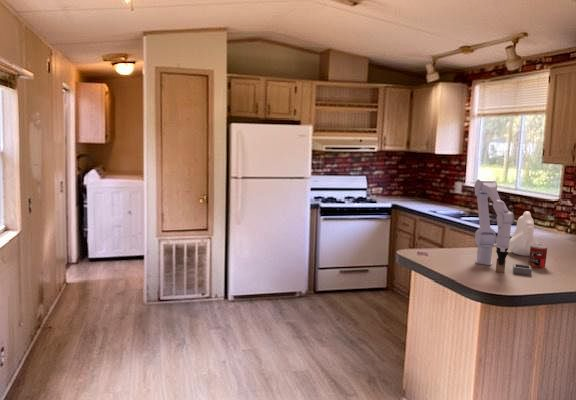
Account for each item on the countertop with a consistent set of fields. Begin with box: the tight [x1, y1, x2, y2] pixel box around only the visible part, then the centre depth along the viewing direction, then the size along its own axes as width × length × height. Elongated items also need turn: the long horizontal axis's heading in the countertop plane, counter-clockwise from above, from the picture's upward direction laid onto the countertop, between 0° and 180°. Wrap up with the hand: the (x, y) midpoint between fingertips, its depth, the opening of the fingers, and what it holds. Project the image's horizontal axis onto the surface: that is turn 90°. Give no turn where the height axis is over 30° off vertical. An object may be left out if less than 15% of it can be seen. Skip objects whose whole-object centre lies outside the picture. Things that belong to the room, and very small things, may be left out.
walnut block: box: [495, 257, 507, 274], centre depth 255 cm, size 4×4×6 cm
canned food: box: [528, 244, 548, 269], centre depth 268 cm, size 8×8×11 cm
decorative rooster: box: [508, 210, 539, 257], centre depth 291 cm, size 25×16×25 cm, turn 152°
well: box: [512, 263, 533, 277], centre depth 255 cm, size 8×8×3 cm
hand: (500, 263), depth 255 cm, fingers open, 7 cm apart
